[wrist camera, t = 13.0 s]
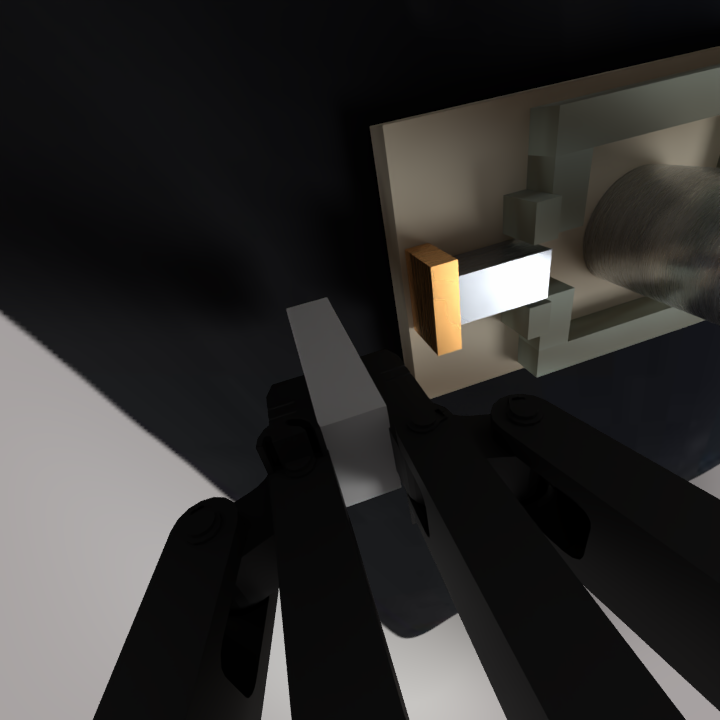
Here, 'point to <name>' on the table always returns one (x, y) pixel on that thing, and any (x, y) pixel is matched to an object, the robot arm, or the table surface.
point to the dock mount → (540, 205)
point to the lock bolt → (472, 286)
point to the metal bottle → (661, 236)
